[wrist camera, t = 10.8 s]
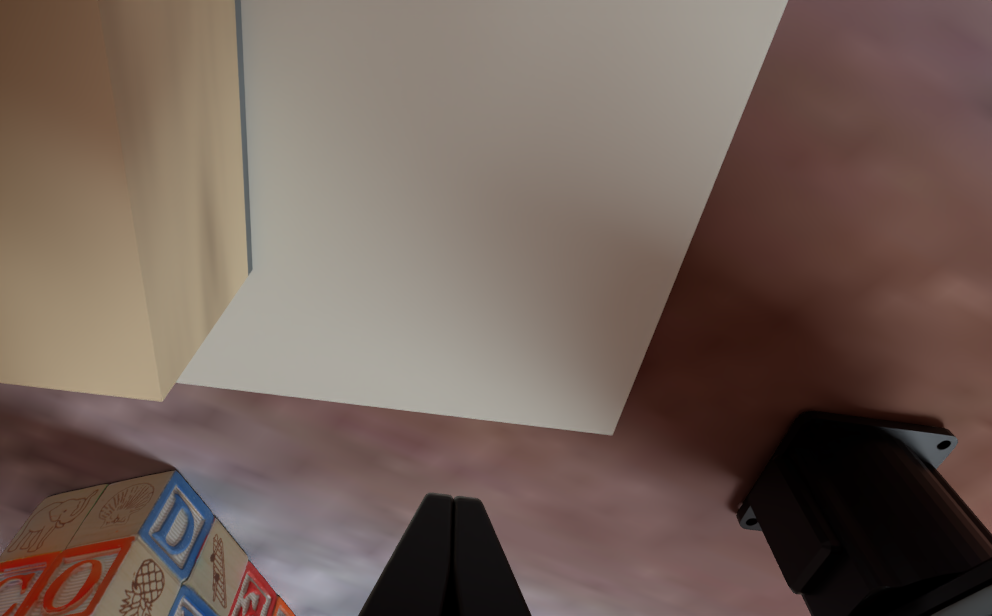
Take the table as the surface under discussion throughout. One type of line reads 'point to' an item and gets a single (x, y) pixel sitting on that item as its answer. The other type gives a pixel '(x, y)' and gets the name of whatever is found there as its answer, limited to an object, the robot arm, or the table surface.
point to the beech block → (119, 189)
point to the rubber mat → (475, 197)
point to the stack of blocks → (130, 557)
